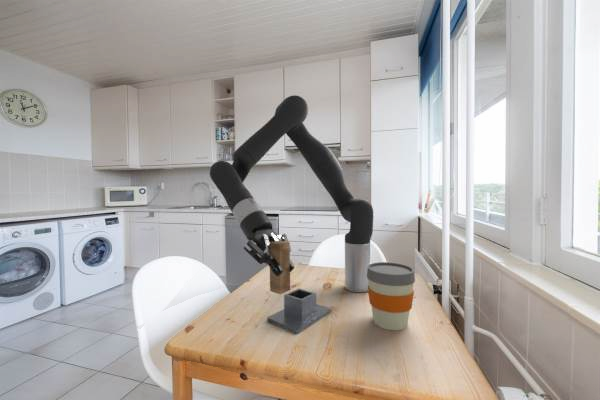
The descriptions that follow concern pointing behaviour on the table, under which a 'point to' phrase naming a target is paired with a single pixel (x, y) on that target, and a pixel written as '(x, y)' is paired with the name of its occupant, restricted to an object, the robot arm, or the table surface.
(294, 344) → the table surface
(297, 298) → the grey square tube bracket
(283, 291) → the brown square block
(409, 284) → the reusable coffee cup
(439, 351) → the table surface
